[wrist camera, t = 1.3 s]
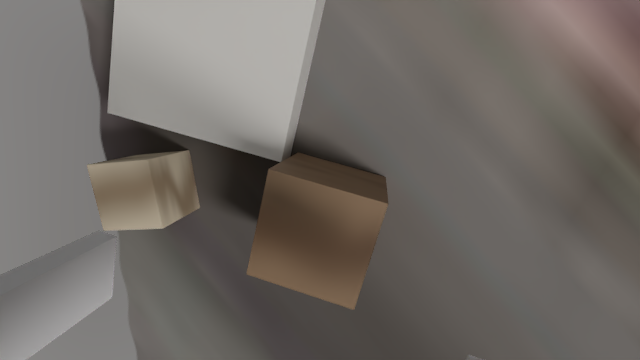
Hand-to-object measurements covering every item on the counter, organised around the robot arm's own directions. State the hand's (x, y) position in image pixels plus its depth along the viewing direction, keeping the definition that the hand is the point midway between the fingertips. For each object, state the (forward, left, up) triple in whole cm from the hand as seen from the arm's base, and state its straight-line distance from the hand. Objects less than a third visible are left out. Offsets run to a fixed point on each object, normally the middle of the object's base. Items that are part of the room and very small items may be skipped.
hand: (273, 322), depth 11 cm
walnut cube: (0, 0, -15) cm, 15 cm away
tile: (+10, +11, -14) cm, 21 cm away
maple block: (-2, +14, -15) cm, 20 cm away
